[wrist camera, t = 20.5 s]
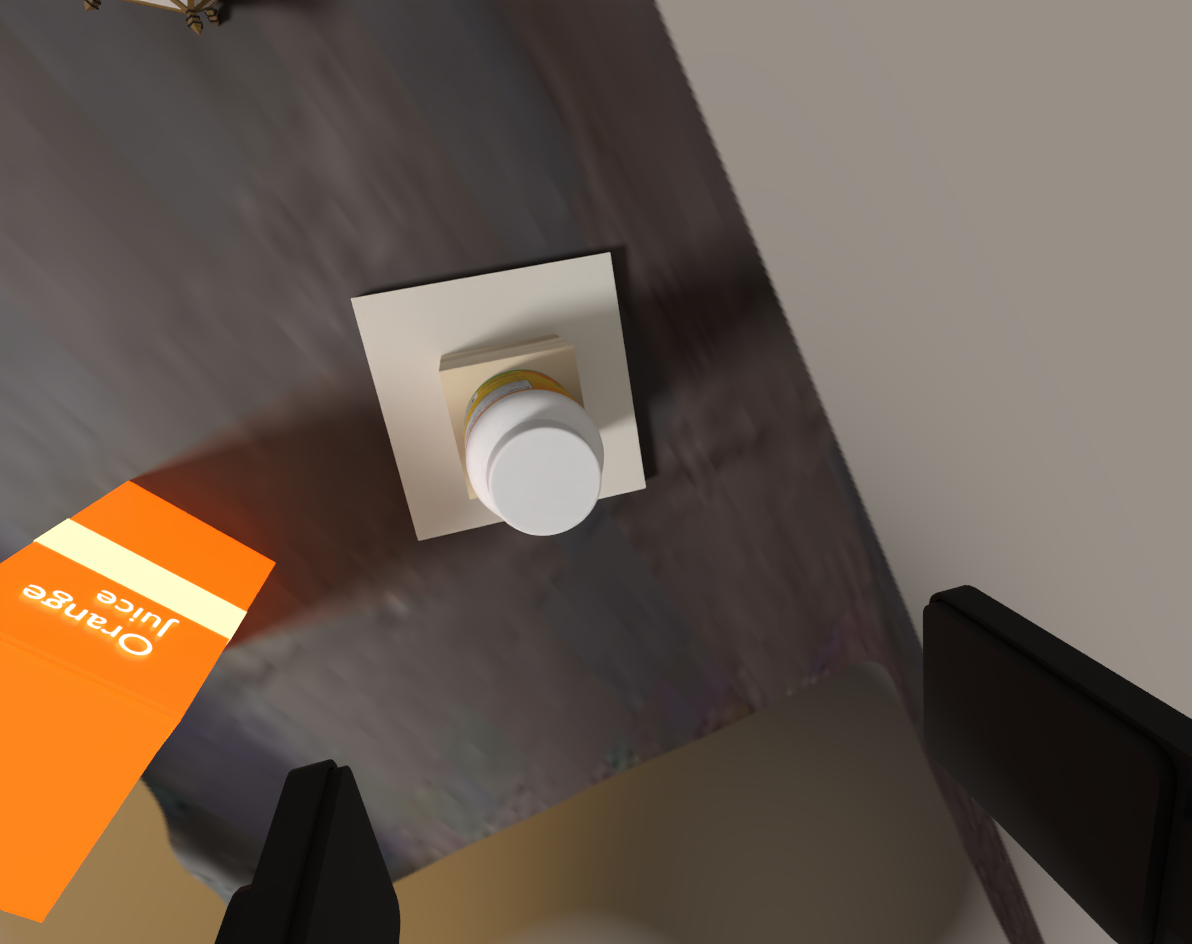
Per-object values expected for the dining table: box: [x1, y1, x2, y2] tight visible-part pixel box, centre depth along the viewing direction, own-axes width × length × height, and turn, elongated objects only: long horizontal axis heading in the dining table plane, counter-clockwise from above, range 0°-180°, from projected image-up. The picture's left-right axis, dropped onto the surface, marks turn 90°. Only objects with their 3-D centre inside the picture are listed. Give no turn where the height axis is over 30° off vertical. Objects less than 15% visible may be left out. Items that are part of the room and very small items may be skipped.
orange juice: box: [0, 481, 275, 923], centre depth 28 cm, size 8×9×20 cm
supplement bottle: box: [464, 369, 604, 535], centre depth 27 cm, size 5×5×10 cm
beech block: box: [439, 334, 585, 499], centre depth 35 cm, size 6×6×6 cm
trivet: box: [351, 252, 646, 541], centre depth 38 cm, size 14×14×1 cm
